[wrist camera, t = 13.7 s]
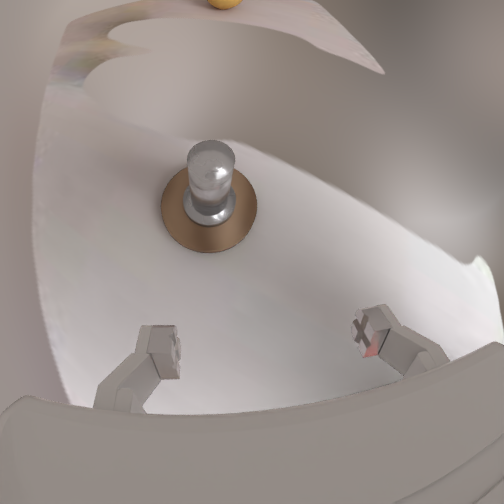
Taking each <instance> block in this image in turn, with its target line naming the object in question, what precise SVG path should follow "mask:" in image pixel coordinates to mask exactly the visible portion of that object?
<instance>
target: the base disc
mask: <svg viewBox="0 0 504 504" xmlns="http://www.w3.org/2000/svg"><path fill="white" fill-rule="evenodd" d="M188 185H189V175H188V167H187V168H185V169H183V170H181V171H180V172H179V173H177V174H176V175H175V176H174V177H173V178H172V179H171V180H170V182H169V183H168V185H167V186H166V188H165V190H164V193H163V196H162V201H161V212H162V217H163V220H164V223H165V226H166V228H167V230H168V232H169V233H170V234H171V236H172V237H173V238H174V239H175V240H176V241H177V242H178V243H179V244H181V245H182V246H184V247H186V248H188V249H190V250H193V251H196V252H201V253H216V252H221V251H224V250H227V249H229V248H231V247H233V246H235V245H236V244H238V243H239V242H240V241H241V240H242V239H243V238H244V237H245V236H246V235H247V234H248V232H249V230H250V229H251V227H252V224H253V222H254V220H255V216H256V212H257V200H256V195H255V192H254V189H253V187H252V185H251V184H250V182H249V181H248V180H247V178H246V177H245V176H244V175H243V174H241V173H240V172H239V171H237V170H236V169H233V175H232V180H231V186H232V188H233V189H234V192H235V195H236V205H235V209H234V212H233V214H232V216H231V217H230V218H229V220H228V221H226V222H225V223H224V224H222V225H220V226H217V227H202V226H199V225H197V224H195V223H193V222H192V221H191V220H190V219H189V218H188V217H187V215H186V213H185V210H184V206H183V195H184V192H185V190H186V188H187V187H188Z"/></svg>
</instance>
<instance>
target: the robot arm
mask: <svg viewBox="0 0 504 504" xmlns="http://www.w3.org/2000/svg"><path fill="white" fill-rule="evenodd" d="M355 316H356V319H355V320H354V321H353V323H352V327H351V333H352V337H353V339H354V341H355V342H357V343H359V345H358V349H359V351H360V353H361V355H362V357H363V358H365V357H370V356H375V355H378V356H379V357H380V358H382V359H383V360H384V361H385V362H387V363H388V364H389V365H390V366H392V367H393V368H394V369H396V370H397V371H398V372H399V373H401V374H402V375H403V376H404V377H403V378H402V380H401V381H398V382H394V383H391V384H388V385H385V386H381V387H378V388H374V389H371V390H367V391H364V392H360V393H356V394H352V395H348V396H344V397H339V398H335V399H330V400H325V401H320V402H315V403H310V404H304V405H298V406H292V407H286V408H278V409H271V410H262V411H253V412H242V413H228V414H207V415H163V414H147V413H146V412H145V410H144V409H143V407H142V405H143V404H144V403H145V401H146V400H147V399H148V397H149V396H150V395H151V393H152V392H153V391H154V389H155V388H156V387H157V385H158V384H159V382H160V381H161V379H180V364H179V360H180V359H181V345H180V340H179V338H178V337H177V328H176V326H175V325H153V326H148V325H142V326H141V328H140V331H139V336H138V340H137V344H136V349H135V354H132V353H131V354H130V355H129V356H128V357H127V358H126V359H125V360H124V361H123V362H122V363H121V364H120V365H119V366H118V367H117V368H116V369H115V370H114V371H113V372H112V373H110V374H109V375H108V376H107V377H106V378H105V379H104V380H103V381H102V382H101V383H100V384H99V385H98V388H97V392H96V397H95V401H94V405H93V408H87V407H81V406H75V405H70V404H64V403H59V402H55V401H50V400H46V399H42V398H38V397H34V396H29V395H25V396H23V397H21V398H20V399H18V400H17V401H15V402H14V403H13V404H11V405H10V406H9V407H8V408H6V409H5V410H4V411H3V412H2V414H1V415H0V504H504V345H503V344H501V343H498V342H491V343H489V344H487V345H485V346H483V347H481V348H479V349H477V350H475V351H473V352H471V353H469V354H467V355H464V356H462V357H460V358H458V359H455V360H453V361H450V360H449V358H448V357H447V355H446V354H445V352H444V351H443V350H442V348H441V347H440V345H438V344H436V343H435V342H433V341H431V340H429V339H427V338H426V337H424V336H422V335H420V334H418V333H417V332H415V331H413V330H411V329H409V328H407V327H406V326H401V324H400V323H399V321H398V320H397V319H396V317H395V316H394V314H393V313H392V311H391V310H390V308H389V307H388V306H387V305H386V304H383V305H378V306H372V307H366V308H360V309H358V310H357V311H356V314H355Z"/></svg>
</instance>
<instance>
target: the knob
mask: <svg viewBox="0 0 504 504" xmlns="http://www.w3.org/2000/svg"><path fill="white" fill-rule="evenodd" d="M187 164H188V175H189V185H188V187H187V188H186V190H185V192H184V195H183V206H184V210H185V213H186V215H187V217H188V218H189V219H190V220H191V221H192V222H193V223H195V224H197V225H199V226H202V227H217V226H220V225H222V224H224V223H225V222H226V221H228V220H229V218H230V217H231V216H232V214H233V212H234V209H235V205H236V195H235V192H234V189H233V188H232V186H231V180H232V175H233V169H234V164H235V155H234V153H233V151H232V149H231V148H230V147H229V146H228V145H226V144H225V143H223V142H220V141H216V140H207V141H203V142H200V143H198V144H196V145H195V146H194V147H193V148H192V149H191V150H190V152H189V154H188V157H187Z"/></svg>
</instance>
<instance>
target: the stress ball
mask: <svg viewBox="0 0 504 504" xmlns="http://www.w3.org/2000/svg"><path fill="white" fill-rule="evenodd" d="M207 1H208V2H209V3H210V4H211V5H212V6H214V7H217V8H219V9H228V8H232V7H235V6H237V5H238V4H239V3H240V2H241V1H242V0H207Z"/></svg>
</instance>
